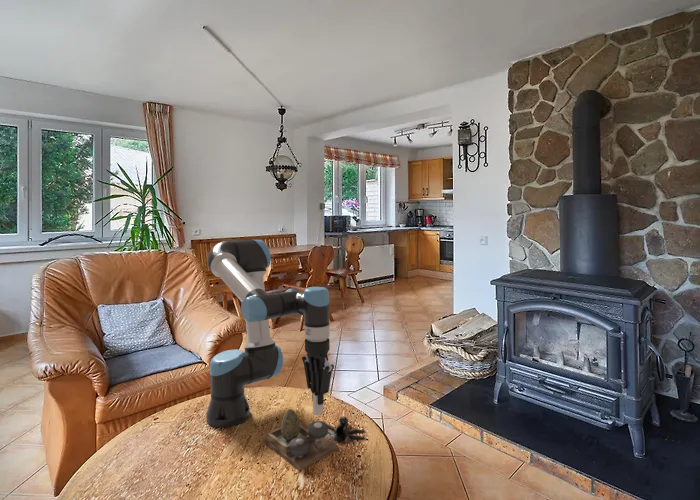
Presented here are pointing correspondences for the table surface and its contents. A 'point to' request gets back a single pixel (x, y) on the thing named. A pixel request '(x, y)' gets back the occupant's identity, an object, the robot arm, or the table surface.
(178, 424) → the table surface
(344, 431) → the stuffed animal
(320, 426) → the wheel
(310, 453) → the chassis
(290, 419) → the decorative egg
